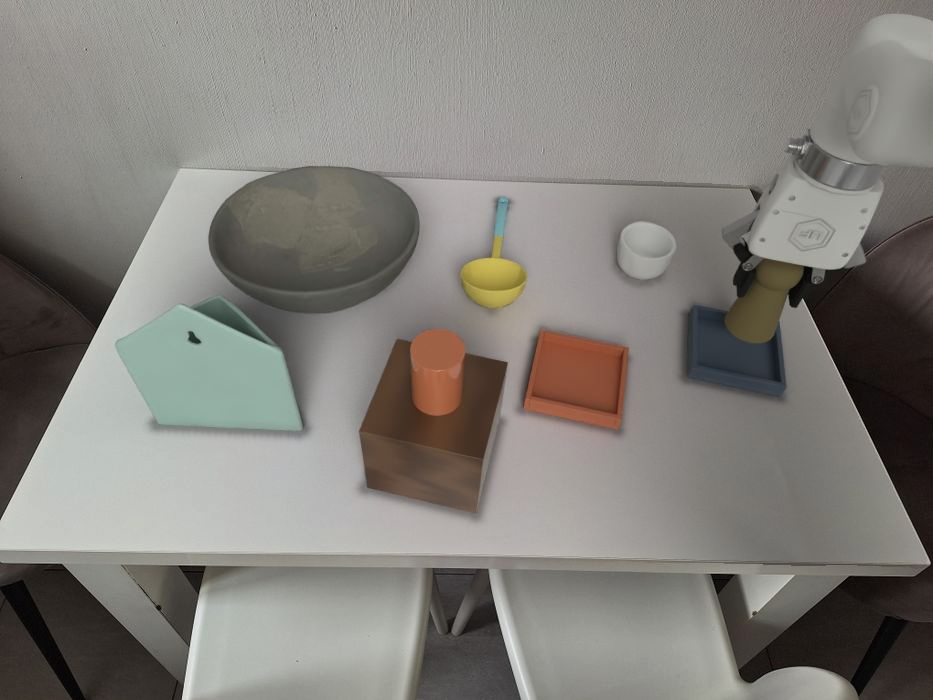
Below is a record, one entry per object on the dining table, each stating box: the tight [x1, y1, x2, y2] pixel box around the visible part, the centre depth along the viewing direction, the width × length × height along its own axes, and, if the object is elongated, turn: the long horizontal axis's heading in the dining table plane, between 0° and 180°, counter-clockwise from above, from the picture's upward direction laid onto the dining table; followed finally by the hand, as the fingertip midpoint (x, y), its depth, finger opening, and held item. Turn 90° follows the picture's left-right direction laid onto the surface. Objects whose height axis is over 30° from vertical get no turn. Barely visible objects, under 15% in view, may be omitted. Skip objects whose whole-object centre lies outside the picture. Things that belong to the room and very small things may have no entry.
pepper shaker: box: [724, 258, 804, 343], centre depth 76 cm, size 6×6×11 cm
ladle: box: [459, 196, 528, 309], centre depth 93 cm, size 9×26×6 cm, turn 174°
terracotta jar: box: [410, 328, 466, 416], centre depth 62 cm, size 5×5×7 cm
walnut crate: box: [358, 338, 509, 514], centre depth 68 cm, size 12×12×11 cm
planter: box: [114, 294, 304, 432], centre depth 68 cm, size 16×8×20 cm, turn 89°
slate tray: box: [686, 304, 787, 398], centre depth 83 cm, size 11×11×2 cm
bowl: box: [207, 165, 421, 314], centre depth 86 cm, size 26×26×10 cm
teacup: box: [616, 219, 677, 281], centre depth 92 cm, size 10×8×5 cm
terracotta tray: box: [522, 329, 630, 430], centre depth 79 cm, size 11×11×2 cm
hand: (766, 293), depth 76 cm, fingers closed on pepper shaker, 5 cm apart
